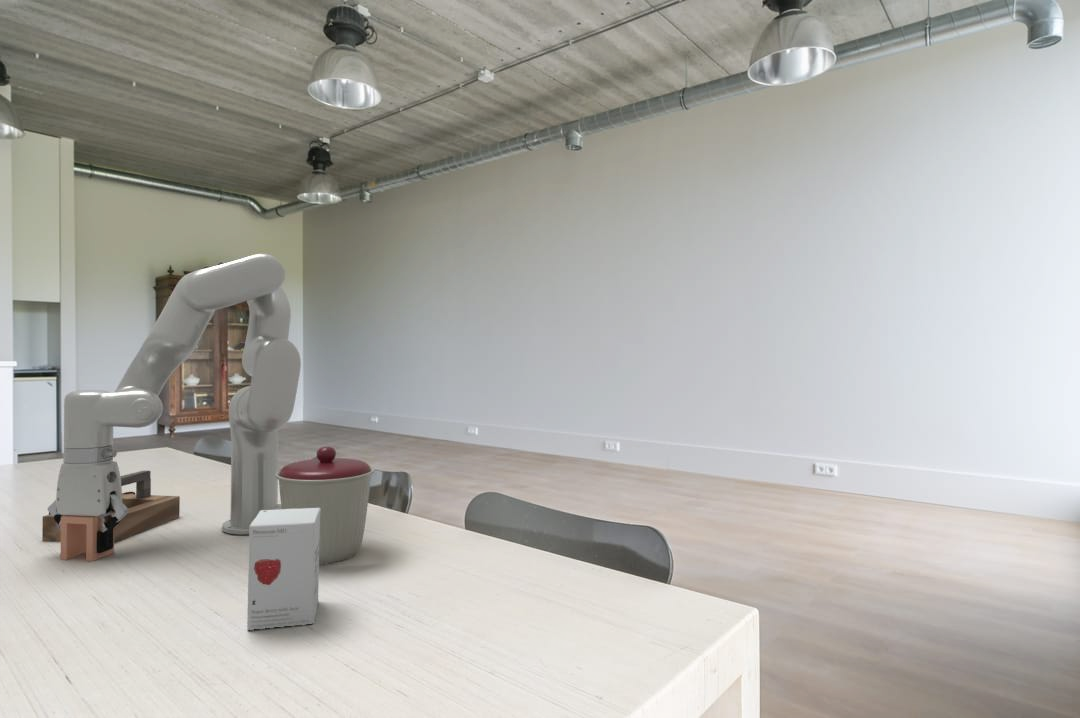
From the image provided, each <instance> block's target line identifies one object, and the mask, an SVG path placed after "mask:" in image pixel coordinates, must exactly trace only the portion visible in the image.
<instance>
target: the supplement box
mask: <svg viewBox="0 0 1080 718" xmlns="http://www.w3.org/2000/svg"><path fill="white" fill-rule="evenodd" d="M320 510H321V509H320V508H303V509H279V510H261V511H260V512H259V513H258V515H257V516H256V518H255V519H254V520H253V522H252V523H251V525H250V526H249V534H248V573H247V574H248V583H247V584H248V585H247V623H246V624H247V626H246V627H247V631H248V630H250V631H255V630H254V629H260V630H266V629H265V628H270V629H275V628H274V627H281V628H285V627H284V626H292V627H294V626H293V625H302V626H304V625H303V624H312V623H313V624H314V622H315V619H316V614H317V609H318V606H319V605H318V604H319V584H320V583H319V577H320V575H319V574H320V573H319V572H320V570H319V569H320V566H319V565H320V564H319V541H320ZM313 624H312V625H313Z"/></svg>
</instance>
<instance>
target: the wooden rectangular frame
mask: <svg viewBox="0 0 1080 718" xmlns="http://www.w3.org/2000/svg"><path fill="white" fill-rule="evenodd" d="M151 473H152V472H151V470H141V471H140V470H139V471H136V472H132V473H127V474H124V475H120V477H121V486H122V487H125V486H127V485H132V484H136V485H135V486H136V487H135V488H136V489H135V490H136V491H135V495H133V494H122V503H123V504H124V505H125V506H126V507H127V508H128V509H129V512H128V513H127V514H126V515H125V517H124V518H122V520H121V521H120V522H119V523H118V524H117V527H116V528H114V544H115V543H117V542H119V541H122V540H126V539H127V538H130V537H132V536H135V535H137V534H139V533H143V532H145V531H148V530H150V529H154V528H156V527H158V526H161V525H163V524H166V523H169V522H171V521H173V520H177V519H180V511H181V510H180V504H181V503H180V501H181V499H180V496H179V495H157V494H156V495H154V494H152V493H151V492H152V490H151V489H152V479H151V475H152V474H151ZM115 513H116V512H114V514H115ZM58 526H59V525H58V524H57V522H56V521H55V520H54V517H53V516H52V515H51V514H49V513H48V514H46V515H43V516H42V535H41V536H42V537H41V539H42V542H56V543H57V542H60V543H61V530H59V528H58Z"/></svg>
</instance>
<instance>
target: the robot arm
mask: <svg viewBox="0 0 1080 718" xmlns="http://www.w3.org/2000/svg"><path fill="white" fill-rule="evenodd" d="M285 277H286V270H285V268H284V266H283V263H282V262H281V261H280V260H279V259H278V258H276V257H275V256H273V255H271V254H268V253H256V254H252V255H248V256H246V257H243V258H239V259H236V260H232V261H228V262H225V263H221V264H218V265H213V266H209V267H204V268H202V269H201V268H200V269H198V270H195V271H192V272H189V273H187V274H185V275H183V276H182V278H180V279H179V280H178V282H177V283H176V285H175V287H174V289H173V291H172V292H171V294H170V296H169V298H168V300H167V301H166V304H165V305H164V307H163V308H162V311H161V313H160V314H159V316H158V318H157V320H156V321H155V323H154V325H153V326H152V328H151V330H150V332H149V334H148V335H147V337H146V338H145V340H144V341H143V343H142V344H141V347H140V348H139V350H138V351H137V354H136V355H135V356H134V358H133V360H132V361H131V362H130V365H129V366H128V368H127V369H126V371H125V373H124V375H123V376H122V379H121V380H120V382H119V384H118V385H117V387H116V389H115V390H114V392H110V391H107V390H103V389H102V390H100V389H98V390H96V389H94V390H93V389H92V390H91V389H89V390H75V391H69V392H68V393H67V394H66V395H65V397H64V399H63V401H64V402H63V463H61V464H60V465H61V466H60V469H59V473H58V476H57V477H58V478H57V484H56V485H57V486H56V496H55V500H54V501H53V502H52V503H51V504H49V506H48V507H47V512H48V514H49V513H50V514H51V515H52V516H53V517H54V520H55V521H56V522H57V524H58V525H59V526H58V528H59V530H61V517H62V516H84V517H98V526H99V529H100V531H99V532H97V553H103V552H105V551H108V550H110V549H112V548H113V529H114V528H116V527H117V524H118V523H119V522H120V521H121V520H122V518H124V517H125V515H126V514H127V513H128V512H129V509H128V508H127V507H126V506H125V505H124V504H123V503H122V493H123V489H122V488H123V486H121V477H120V476H121V473H120V469H119V468H120V467H119V465H118V462H117V461H115V460H114V458H116V457H117V455H118V452H117V450H116V449H115V450H114V427H115V428H118V427H119V428H140V429H141V428H145V427H148V426H151V425H153V424H154V423H156V422H157V421H158V420H159V419H160V418H161V416H162V414H163V411H164V406H163V402H162V400H161V399H160V394H161V392H162V390H163V388H164V387H165V385H166V383H167V381H168V380H169V379H170V377H171V375H172V374H174V371H176V369H177V368H179V366H180V365H182V364H183V363H184V362H185V361H186V360H188V359H189V358H190V356H192V354H193V352H194V351H195V350H196V348H197V346H198V344H199V342H200V340H201V338H202V336H203V333H204V332H205V331H206V329H207V327H208V325H209V323H210V321H211V320H212V317H213V316H214V314H215V311H217V310H221V309H224V308H228V307H231V306H234V305H237V304H241V303H244V302H246V303H247V305H248V309H249V316H248V325H247V333H246V337H245V343H244V347H243V351H242V357H241V365H242V368H243V371H244V372H245V373H246V374H247V375H248V376H250V377H251V381H250V384H249V385H247V386H245V387H242V388H240V389H239V390H238V391H236V392H235V393H234V395H233V396H232V398H231V399H230V402H229V406H228V420H229V421H228V422H229V429H230V441H231V442H230V443H231V444H230V446H231V447H230V448H231V449H230V452H231V453H230V454H231V456H230V458H231V459H230V519H229V520H226V521H225V522H224V523H222V526H221V527H222V532H224V533H226V534H231V535H249V526H250V525H251V523H252V522H253V520H254V519H255V518H256V516H257V515H258V513H259V512H260V511H261V510H279V509H282V508H281V503H279V500H278V497H279V494H278V493H279V492H278V491H279V489H278V488H279V480H278V479H277V478H276V477H275V473H276V472H277V471H279V436H278V435H279V434H278V431H279V430H280V429H282V428H284V427H285V426H286V425H287V424H288V422H289V421H290V419H291V417H292V414H293V412H294V409H295V408H294V407H295V403H296V396H297V392H298V391H297V390H298V386H299V380H300V373H301V366H302V363H301V362H302V361H301V356H300V353H299V350H298V348H297V346H296V345H295V344H294V343H293V342H291V341H290V340H289V334H290V326H291V316H292V315H291V304H290V301H289V299H288V296H287V295H286V294H287V293H286V292H285V291H284V290H283V288H282V285H283V284H284V282H285ZM113 512H116V513H115V514H114V515H113ZM104 517H107V522H106V521H105V519H104Z"/></svg>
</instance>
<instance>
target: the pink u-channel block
mask: <svg viewBox="0 0 1080 718" xmlns="http://www.w3.org/2000/svg"><path fill="white" fill-rule="evenodd" d="M113 515H114V512H113ZM104 519H105V521H106V522H107V517H104ZM99 531H100V529H99V526H98V517H84V516H62V517H61V542H60V557H59V558H60V560H62V561H67V560H70V559H72V558H75V557H77V556H80V555H83V554H86V556H85V557H86V559H85V561H86V562H94V561H97V560H98V559H101V558H103V557H106V556H109V555H111V554H113V553H115V543H114V529H113V548H112V549H110V550H108V551H105V552H103V553H97V532H99Z"/></svg>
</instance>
